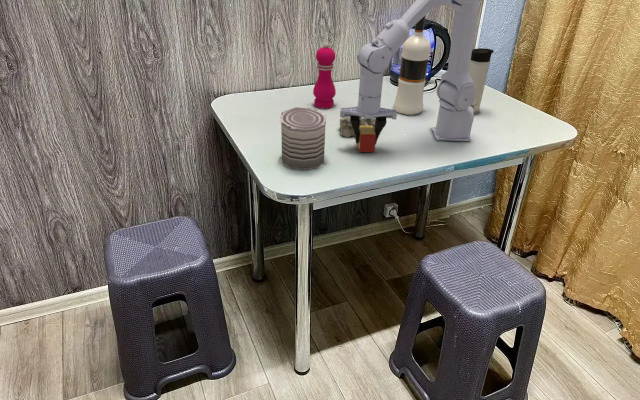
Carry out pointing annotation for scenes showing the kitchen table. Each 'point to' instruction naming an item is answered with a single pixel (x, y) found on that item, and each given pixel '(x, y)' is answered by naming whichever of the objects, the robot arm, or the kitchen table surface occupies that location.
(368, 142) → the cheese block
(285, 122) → the can
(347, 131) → the egg carton
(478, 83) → the travel mug
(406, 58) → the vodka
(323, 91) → the pepper mill
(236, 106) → the kitchen table surface
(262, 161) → the kitchen table surface
